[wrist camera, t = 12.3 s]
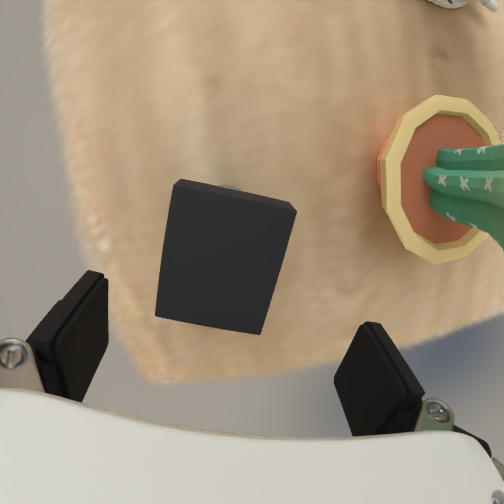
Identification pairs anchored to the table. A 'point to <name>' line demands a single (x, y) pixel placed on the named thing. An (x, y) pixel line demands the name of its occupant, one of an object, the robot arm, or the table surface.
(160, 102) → the table surface
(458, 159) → the potted cactus
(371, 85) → the table surface
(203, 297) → the black box
